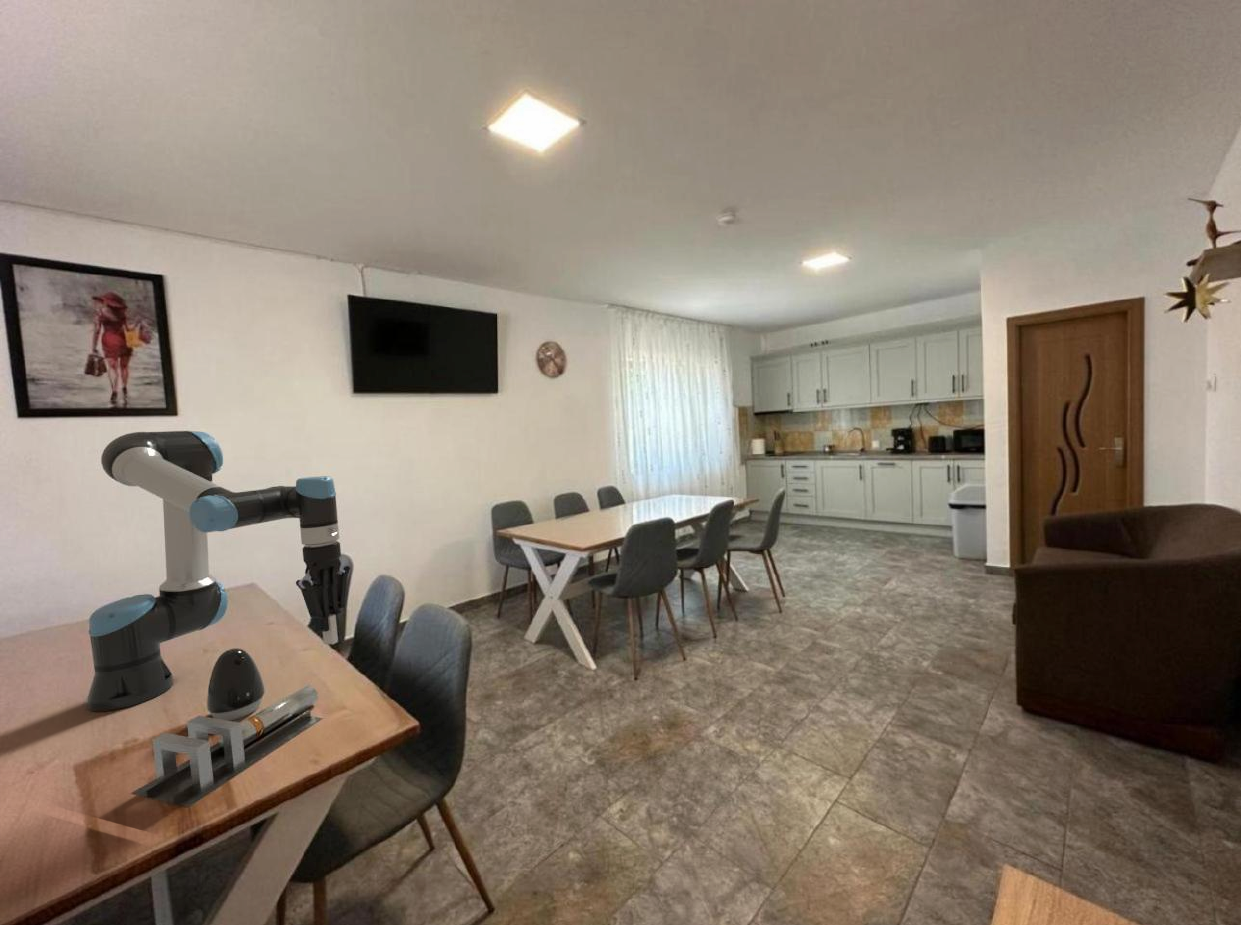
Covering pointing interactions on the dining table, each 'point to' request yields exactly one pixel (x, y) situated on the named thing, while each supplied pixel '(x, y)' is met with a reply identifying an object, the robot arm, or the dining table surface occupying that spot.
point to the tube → (276, 714)
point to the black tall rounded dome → (234, 686)
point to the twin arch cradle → (211, 757)
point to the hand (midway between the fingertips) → (330, 642)
